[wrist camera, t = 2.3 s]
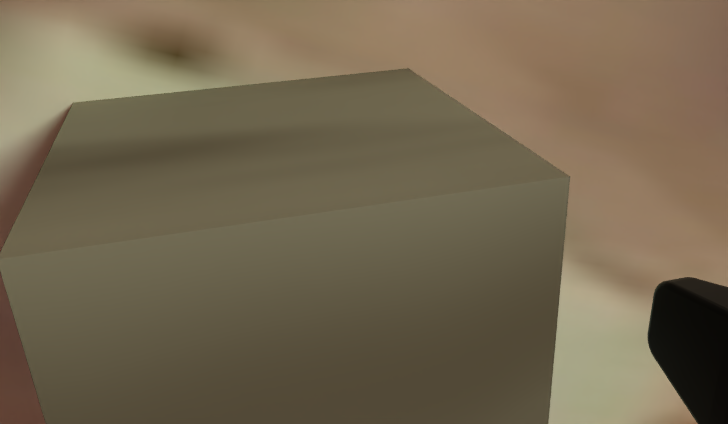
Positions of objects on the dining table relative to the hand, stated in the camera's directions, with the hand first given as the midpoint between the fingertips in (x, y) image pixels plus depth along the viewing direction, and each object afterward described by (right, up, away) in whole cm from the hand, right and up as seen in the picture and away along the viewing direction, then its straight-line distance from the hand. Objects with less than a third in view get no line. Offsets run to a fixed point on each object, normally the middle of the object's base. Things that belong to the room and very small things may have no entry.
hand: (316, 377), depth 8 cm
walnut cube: (-1, +2, +3) cm, 4 cm away
